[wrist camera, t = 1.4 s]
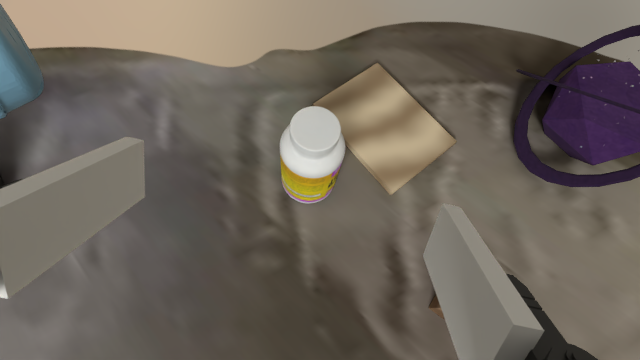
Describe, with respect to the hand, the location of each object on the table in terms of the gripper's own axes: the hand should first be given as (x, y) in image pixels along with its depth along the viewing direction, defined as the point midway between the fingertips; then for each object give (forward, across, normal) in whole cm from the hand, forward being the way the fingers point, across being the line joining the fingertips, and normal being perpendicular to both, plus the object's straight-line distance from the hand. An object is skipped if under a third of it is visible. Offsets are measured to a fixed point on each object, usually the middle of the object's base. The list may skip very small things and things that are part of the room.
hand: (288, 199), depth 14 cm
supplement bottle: (+26, 0, -10) cm, 27 cm away
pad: (+32, +8, -3) cm, 33 cm away
